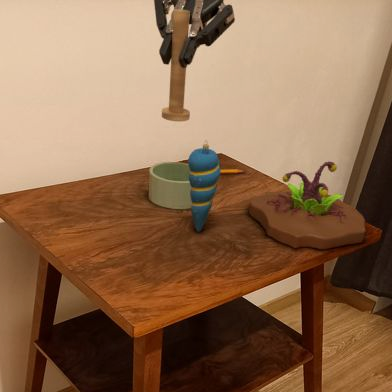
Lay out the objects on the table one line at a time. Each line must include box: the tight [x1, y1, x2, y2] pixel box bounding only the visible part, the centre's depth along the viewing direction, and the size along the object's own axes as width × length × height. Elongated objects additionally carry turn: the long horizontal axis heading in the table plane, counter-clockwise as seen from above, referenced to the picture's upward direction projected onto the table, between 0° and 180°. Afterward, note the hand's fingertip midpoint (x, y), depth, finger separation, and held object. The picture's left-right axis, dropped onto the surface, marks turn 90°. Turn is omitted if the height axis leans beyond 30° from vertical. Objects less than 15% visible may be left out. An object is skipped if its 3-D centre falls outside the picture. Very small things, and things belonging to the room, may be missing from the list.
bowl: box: [148, 161, 192, 210], centre depth 100 cm, size 10×10×5 cm
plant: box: [248, 161, 366, 251], centre depth 94 cm, size 20×20×11 cm
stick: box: [161, 8, 191, 122], centre depth 84 cm, size 5×5×15 cm
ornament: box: [187, 139, 221, 233], centre depth 87 cm, size 5×5×15 cm
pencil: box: [220, 168, 244, 175], centre depth 113 cm, size 1×19×1 cm
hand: (173, 62), depth 82 cm, fingers closed on stick, 2 cm apart
